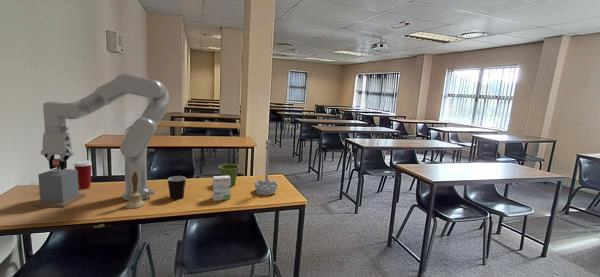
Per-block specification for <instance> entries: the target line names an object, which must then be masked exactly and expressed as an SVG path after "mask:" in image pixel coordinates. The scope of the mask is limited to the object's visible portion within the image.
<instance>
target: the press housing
mask: <svg viewBox="0 0 600 277" xmlns="http://www.w3.org/2000/svg"><path fill="white" fill-rule="evenodd" d="M37 178H38V187H39V189H38V190H39V200H37V201H34V202H32V203H31V205H32V207H47V206H49V207H50V208H51V207H52V208H66V207H67V206H70V205H72V204H74V203H76V202H78V201H79V200H82V199H83V198H86V196H87V194H86V193H80V191H79V190H80V189H78V172H77V170H75V168H74V169H72V168H71V169H70V168H66V169H63V170H61V169H60V173H57V168H54V169H49V170H47V171H44V172H41V173H38V177H37Z"/></svg>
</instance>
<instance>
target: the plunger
mask: <svg viewBox="0 0 600 277" xmlns="http://www.w3.org/2000/svg"><path fill="white" fill-rule="evenodd" d="M60 161H61V159H60V157H59V158H54V159H52V166H53V167H56V169H57V173H60Z"/></svg>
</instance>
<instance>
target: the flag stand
mask: <svg viewBox="0 0 600 277" xmlns="http://www.w3.org/2000/svg"><path fill="white" fill-rule="evenodd" d="M271 143H272V142H271V140H269V139H267V140H266V141H265V145H266V146H265V149H266V150H265V152H266V154H265V171H264V172H265V175H264V176H265V178H264V180H263V179H258V180H256V181H254V188H255V190H256V191H255V192H256V193H257V194H258V195H262V196H271V194H272V195H275V194H276V192H277V191H276V190H277V189H278V187H279V183H278V182H277V181H276V180H274V179H273V180H272V181H271V179H269V165H270V164H269V162H270V161H269V160H270V158H269V157H270V145H272V144H271ZM274 193H275V194H274Z"/></svg>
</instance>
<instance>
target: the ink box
mask: <svg viewBox="0 0 600 277" xmlns="http://www.w3.org/2000/svg"><path fill="white" fill-rule="evenodd" d="M231 187H232V186H231V178H230V176H221V175H216V176H215V175H213V176H212V200H213V202H214V201H225V200H231Z"/></svg>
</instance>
